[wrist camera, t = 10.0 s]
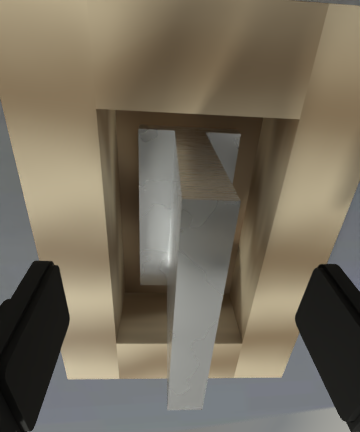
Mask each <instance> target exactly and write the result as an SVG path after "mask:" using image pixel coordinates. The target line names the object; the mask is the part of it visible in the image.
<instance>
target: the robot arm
mask: <svg viewBox="0 0 360 432" xmlns="http://www.w3.org/2000/svg"><path fill="white" fill-rule="evenodd" d="M69 322H70V315H69V310H68V306H67V301H66V296H65V292H64V287H63V283H62V278H61V273H60V269H59V266H58V265H54V263H53V261H34V262H33V263H32V264H31V266H30V268H29V269H28V271H27V273H26V274H25V276H24V278H23V279H22V281H21V283H20V284H19V286H18V288H17V289H16V291H15V293H14V294H13V296H12V298H11V299H7V300H5V301H4V302H3V303H2V304H1V306H0V432H27V431H32V430H33V428H34V426H35V424H36V421H37V418H38V415H39V412H40V409H41V406H42V403H43V400H44V397H45V394H46V392H47V389H48V386H49V383H50V380H51V377H52V374H53V371H54V368H55V365H56V362H57V359H58V356H59V353H60V350H61V347H62V344H63V341H64V338H65V336H66V333H67V330H68V327H69ZM295 323H296V326H297V328H298V330H299V332H300V334H301V336H302V338H303V341H304V343H305V345H306V347H307V349H308V351H309V353H310V355H311V357H312V359H313V362H314V364H315V366H316V368H317V370H318V372H319V374H320V376H321V378H322V381H323V383H324V385H325V387H326V389H327V391H328V393H329V395H330V397H331V399H332V402H333V404H334V406H335V408H336V410H337V412H338V414H339V416H340V418H342V420H343V421H346V422H347V424H348V427H349V429H350V431H351V432H360V292H359V290H358V289H357V288H356V287H355V285H354V284H353V283H352V282H351V280H350V279H349V278H348V277H347V275H346V274H345V273H344V272H343V270H342V269H341V268H340V267H339V266H338V265H336V264H320V265H318V267H317V268H315V269H314V270H313V272H312V275H311V277H310V280H309V282H308V285H307V287H306V290H305V292H304V295H303V297H302V300H301V302H300V305H299V307H298V310H297V312H296V315H295Z"/></svg>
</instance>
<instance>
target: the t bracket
mask: <svg viewBox="0 0 360 432" xmlns="http://www.w3.org/2000/svg"><path fill="white" fill-rule="evenodd" d="M240 136H241V134H240V133H239V132H238V131H237V130H236V129H217V128H198V127H179V126H160V125H141V124H140V126H139V128H138V145H139V224H140V285H167V410H202V408H203V402H204V397H205V392H206V386H207V381H208V375H209V370H210V365H211V359H212V354H213V348H214V343H215V338H216V332H217V327H218V321H219V316H220V311H221V305H222V300H223V295H224V289H225V284H226V278H227V273H228V268H229V262H230V257H231V251H232V246H233V241H234V235H235V230H236V224H237V219H238V214H239V208H240V203H241V200H240V198H239V197H238V195H237V193H236V191H235V189H234V187H233V179H234V173H235V167H236V161H237V154H238V148H239V142H240Z"/></svg>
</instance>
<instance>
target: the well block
mask: <svg viewBox="0 0 360 432" xmlns="http://www.w3.org/2000/svg"><path fill="white" fill-rule="evenodd" d="M0 98H1V103H2V107H3V111H4V115H5V119H6V123H7V128H8V132H9V136H10V140H11V144H12V148H13V153H14V157H15V161H16V165H17V169H18V173H19V178H20V182H21V186H22V190H23V194H24V198H25V203H26V207H27V211H28V215H29V219H30V223H31V228H32V232H33V236H34V240H35V244H36V249H37V253H38V257H39V261H53V263H54V265H58V266H59V269H60V273H61V278H62V283H63V287H64V292H65V296H66V301H67V306H68V310H69V315H70V322H69V327H68V330H67V333H66V336H65V338H64V341H63V344H62V347H61V353H62V357H63V361H64V365H65V369H66V374H67V378H68V379H155V378H167V285H140V224H139V145H138V128H139V126H140V124H141V125H160V126H179V127H198V128H217V129H236V130H237V131H238V132H239V133H240V134H241V136H240V142H239V148H238V154H237V161H236V167H235V173H234V179H233V187H234V189H235V191H236V193H237V195H238V197H239V198H240V200H241V203H240V208H239V214H238V219H237V224H236V230H235V235H234V241H233V246H232V251H231V257H230V262H229V268H228V273H227V278H226V284H225V289H224V295H223V300H222V305H221V311H220V316H219V321H218V327H217V332H216V338H215V343H214V348H213V354H212V359H211V365H210V370H209V375H208V378H277V377H282V375H283V372H284V370H285V367H286V365H287V362H288V360H289V357H290V355H291V352H292V350H293V347H294V345H295V342H296V340H297V337H298V335H299V330H298V328H297V326H296V323H295V315H296V312H297V310H298V307H299V305H300V302H301V300H302V297H303V295H304V292H305V290H306V287H307V285H308V282H309V280H310V277H311V275H312V272H313V270H314V269H315V268H317V267H318V265H320V264H327V262H328V259H329V257H330V254H331V252H332V249H333V246H334V244H335V241H336V239H337V236H338V234H339V231H340V229H341V226H342V224H343V221H344V219H345V216H346V214H347V211H348V209H349V206H350V204H351V201H352V199H353V196H354V194H355V191H356V189H357V186H358V184H359V181H360V6H356V5H344V4H331V3H318V2H306V1H293V0H0Z"/></svg>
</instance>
